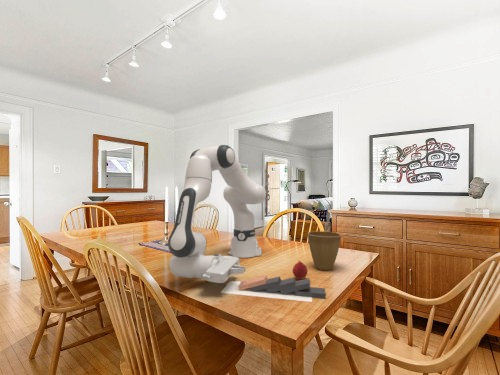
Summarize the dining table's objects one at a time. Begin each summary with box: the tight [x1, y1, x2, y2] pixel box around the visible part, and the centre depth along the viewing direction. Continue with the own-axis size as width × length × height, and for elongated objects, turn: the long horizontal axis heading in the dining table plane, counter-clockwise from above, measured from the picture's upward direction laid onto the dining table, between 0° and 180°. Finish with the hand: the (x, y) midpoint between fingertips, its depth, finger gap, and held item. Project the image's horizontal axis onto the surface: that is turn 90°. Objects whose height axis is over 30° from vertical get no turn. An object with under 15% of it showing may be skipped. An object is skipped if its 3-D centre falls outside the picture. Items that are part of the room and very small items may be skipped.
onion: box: [292, 260, 308, 281], centre depth 108 cm, size 6×6×8 cm
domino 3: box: [281, 278, 311, 294], centre depth 95 cm, size 5×2×10 cm
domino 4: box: [295, 286, 326, 299], centre depth 93 cm, size 5×2×10 cm
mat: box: [220, 280, 313, 303], centre depth 97 cm, size 12×32×1 cm, turn 76°
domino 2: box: [267, 276, 297, 293], centre depth 96 cm, size 5×2×10 cm
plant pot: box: [307, 230, 342, 271], centre depth 123 cm, size 15×15×16 cm
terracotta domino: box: [238, 274, 268, 290], centre depth 98 cm, size 5×2×10 cm
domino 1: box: [252, 275, 281, 292], centre depth 97 cm, size 5×2×10 cm
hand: (244, 270), depth 99 cm, fingers closed
